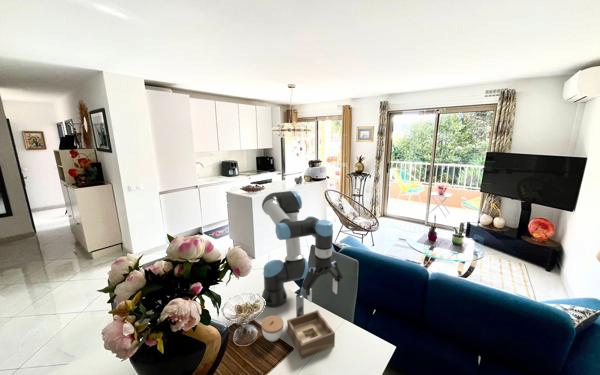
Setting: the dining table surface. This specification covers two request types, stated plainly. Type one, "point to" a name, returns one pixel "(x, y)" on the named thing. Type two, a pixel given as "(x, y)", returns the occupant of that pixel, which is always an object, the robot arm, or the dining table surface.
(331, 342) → the box
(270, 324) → the lidded jar
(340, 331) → the dining table surface
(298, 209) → the robot arm
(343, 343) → the dining table surface
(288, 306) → the dining table surface
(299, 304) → the peg
